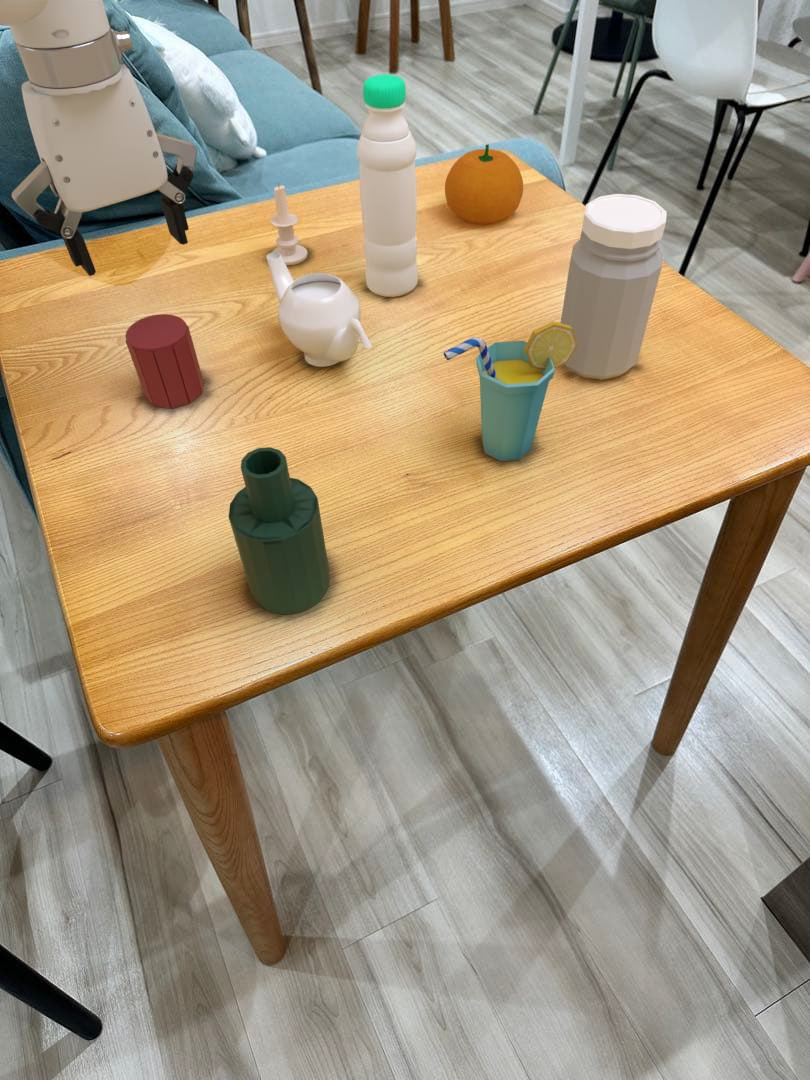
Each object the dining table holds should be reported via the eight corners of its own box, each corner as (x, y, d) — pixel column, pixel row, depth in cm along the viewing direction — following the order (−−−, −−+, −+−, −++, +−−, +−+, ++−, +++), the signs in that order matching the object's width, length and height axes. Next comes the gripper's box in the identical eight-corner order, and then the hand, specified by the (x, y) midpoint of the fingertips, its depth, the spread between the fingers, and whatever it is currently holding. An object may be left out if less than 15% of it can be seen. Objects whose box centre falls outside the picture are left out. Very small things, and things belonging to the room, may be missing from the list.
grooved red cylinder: (142, 410, 85) (120, 351, 79) (150, 374, 89) (130, 315, 83) (200, 406, 85) (183, 347, 79) (206, 370, 89) (190, 311, 83)
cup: (461, 493, 75) (467, 370, 64) (424, 447, 80) (424, 325, 68) (574, 447, 79) (599, 324, 68) (533, 407, 84) (550, 285, 72)
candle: (264, 259, 106) (251, 186, 99) (286, 244, 109) (275, 171, 101) (293, 269, 105) (282, 194, 97) (314, 252, 107) (306, 179, 100)
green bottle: (248, 617, 66) (211, 499, 54) (252, 555, 70) (219, 434, 59) (330, 611, 66) (310, 492, 54) (329, 549, 70) (310, 428, 59)
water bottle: (427, 280, 102) (427, 74, 83) (399, 304, 98) (393, 94, 79) (384, 267, 104) (375, 64, 86) (356, 290, 101) (339, 83, 82)
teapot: (339, 411, 84) (331, 340, 77) (249, 333, 94) (234, 265, 87) (405, 378, 88) (403, 307, 81) (312, 307, 98) (303, 239, 91)
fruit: (446, 195, 118) (448, 128, 111) (520, 197, 117) (527, 129, 110) (441, 231, 111) (442, 161, 103) (520, 233, 110) (527, 163, 102)
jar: (654, 366, 88) (696, 217, 74) (590, 394, 85) (621, 244, 71) (599, 327, 94) (629, 181, 80) (537, 352, 90) (557, 204, 77)
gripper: (152, 27, 67) (198, 214, 80) (-48, 71, 61) (37, 266, 74) (186, 49, 63) (229, 242, 76) (-24, 98, 56) (62, 299, 70)
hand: (134, 254), depth 75 cm, fingers open, 9 cm apart
